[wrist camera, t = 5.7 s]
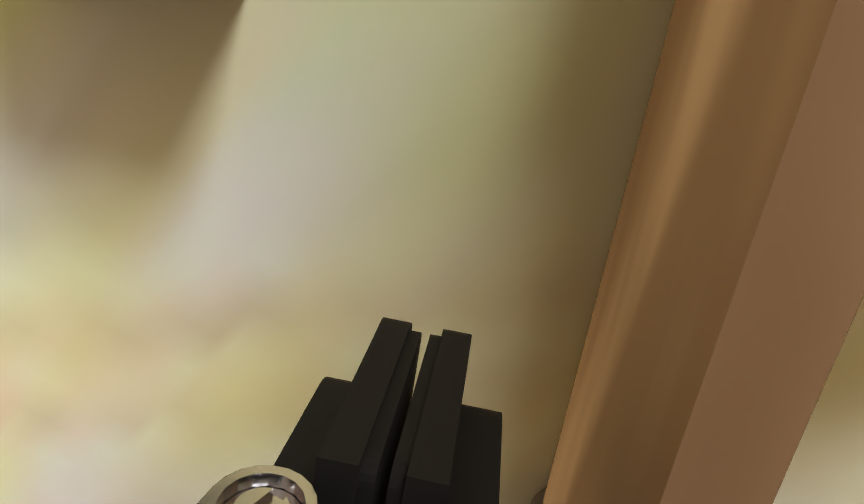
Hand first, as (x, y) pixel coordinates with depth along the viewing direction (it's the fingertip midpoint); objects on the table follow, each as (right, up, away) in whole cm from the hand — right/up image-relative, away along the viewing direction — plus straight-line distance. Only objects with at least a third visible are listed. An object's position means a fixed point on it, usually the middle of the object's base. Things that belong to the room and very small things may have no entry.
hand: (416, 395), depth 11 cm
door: (+4, +2, +2) cm, 5 cm away
